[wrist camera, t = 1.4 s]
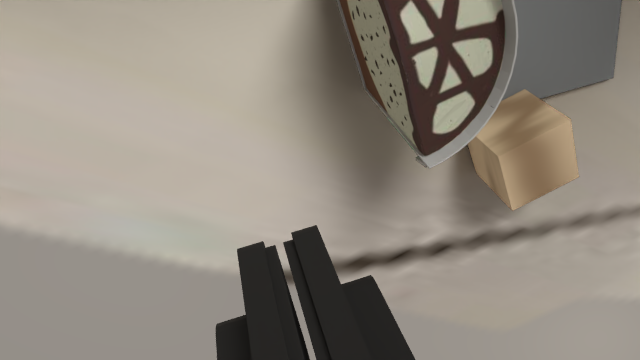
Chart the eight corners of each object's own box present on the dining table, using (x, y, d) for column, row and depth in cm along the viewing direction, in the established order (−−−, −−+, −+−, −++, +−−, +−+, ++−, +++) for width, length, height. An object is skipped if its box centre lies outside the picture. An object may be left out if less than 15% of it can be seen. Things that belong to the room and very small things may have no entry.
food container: (453, 75, 34) (542, 129, 25) (370, 110, 34) (431, 177, 25) (411, -126, 27) (511, -146, 19) (309, -84, 27) (362, -85, 19)
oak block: (524, 88, 35) (570, 119, 31) (535, 142, 38) (578, 177, 34) (460, 122, 35) (498, 156, 31) (476, 173, 38) (512, 210, 34)
